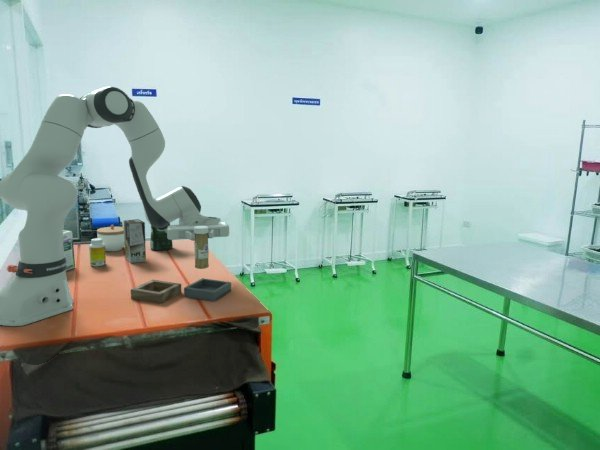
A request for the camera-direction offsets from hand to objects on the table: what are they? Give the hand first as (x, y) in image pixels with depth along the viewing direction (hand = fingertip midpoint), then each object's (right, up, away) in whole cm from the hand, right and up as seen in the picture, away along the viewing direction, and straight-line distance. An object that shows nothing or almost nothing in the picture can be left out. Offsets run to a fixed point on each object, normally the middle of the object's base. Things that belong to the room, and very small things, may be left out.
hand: (201, 236), depth 143 cm
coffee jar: (-32, -7, +61) cm, 69 cm away
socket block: (-15, -19, +1) cm, 24 cm away
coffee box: (-36, -11, +42) cm, 56 cm away
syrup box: (-58, -13, +26) cm, 65 cm away
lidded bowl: (-52, -7, +57) cm, 78 cm away
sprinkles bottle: (-1, -10, +3) cm, 11 cm away
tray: (+1, -19, +4) cm, 19 cm away
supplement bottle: (-48, -12, +33) cm, 60 cm away
